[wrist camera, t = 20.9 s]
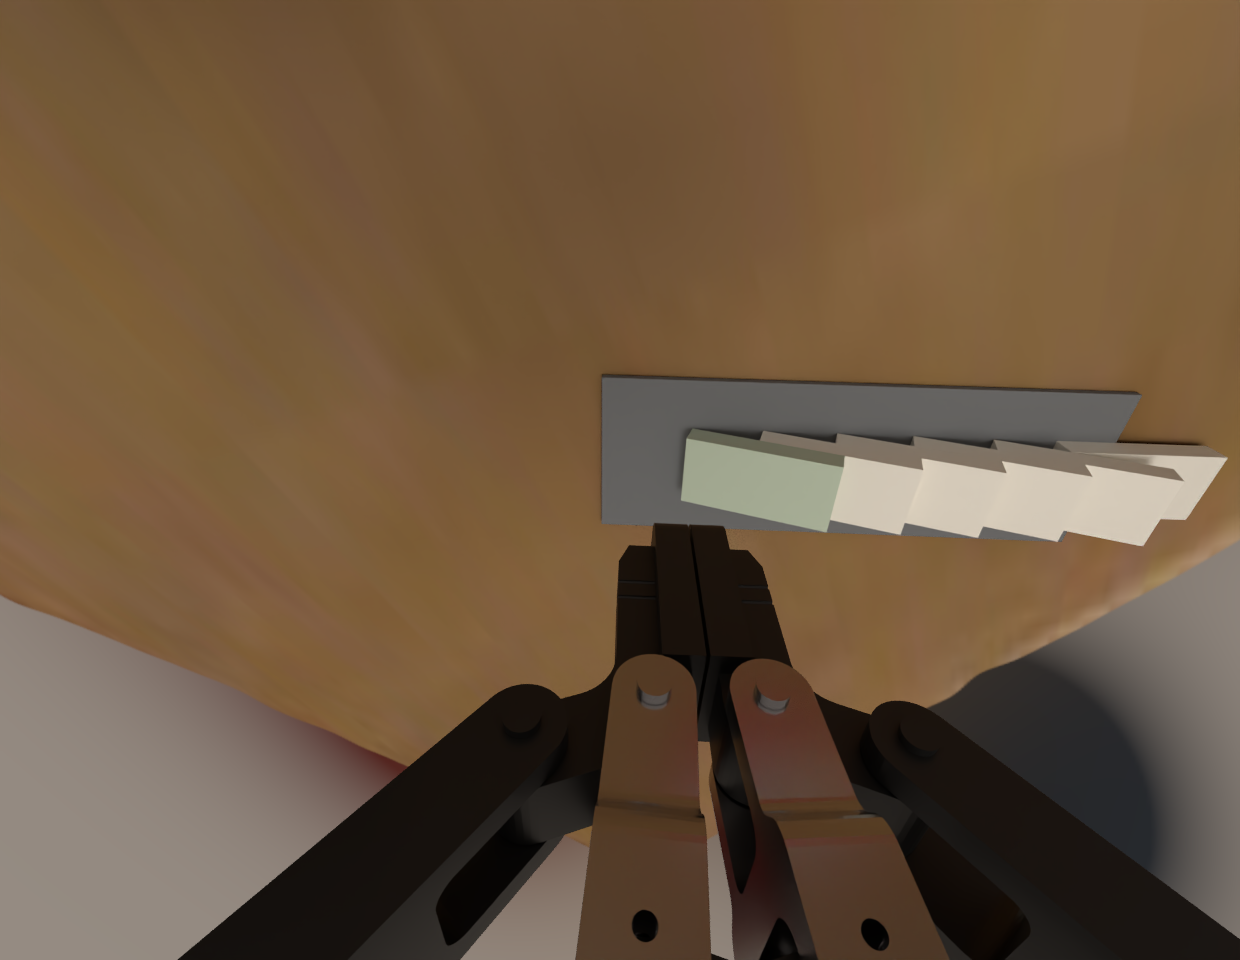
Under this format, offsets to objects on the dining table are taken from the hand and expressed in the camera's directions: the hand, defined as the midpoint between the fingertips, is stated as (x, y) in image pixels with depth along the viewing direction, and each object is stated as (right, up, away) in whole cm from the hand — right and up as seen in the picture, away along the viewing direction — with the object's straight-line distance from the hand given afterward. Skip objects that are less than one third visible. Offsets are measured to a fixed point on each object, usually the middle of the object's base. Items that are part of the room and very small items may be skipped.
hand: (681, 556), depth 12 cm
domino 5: (+24, +2, +27) cm, 36 cm away
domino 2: (+8, +3, +27) cm, 29 cm away
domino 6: (+28, +2, +27) cm, 39 cm away
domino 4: (+18, +2, +27) cm, 33 cm away
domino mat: (+15, +3, +28) cm, 32 cm away
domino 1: (+3, +3, +27) cm, 28 cm away
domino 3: (+13, +2, +27) cm, 30 cm away
